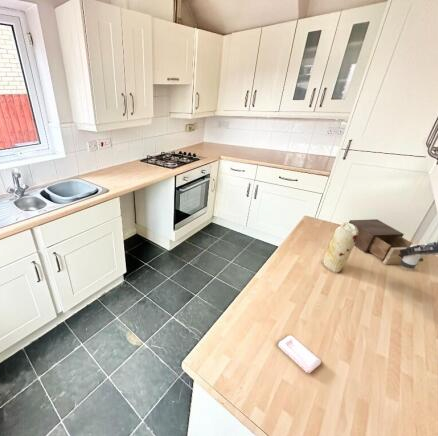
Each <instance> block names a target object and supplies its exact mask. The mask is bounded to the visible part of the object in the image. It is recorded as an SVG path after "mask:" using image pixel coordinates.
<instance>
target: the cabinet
mask: <svg viewBox="0 0 438 436" xmlns="http://www.w3.org/2000/svg"><path fill="white" fill-rule="evenodd" d="M348 223H350V224H353V225H355V226H356V227H357V229H358V232H359V233H358V236H357V239H356V242H355V244H354V246H355V247H356V248H357V249H359V250H360V251H362V252H363V253H364V254H367V253H369V254H372V253H371V252H370V251H368V248H369V246H370V244H371V242H372V241H373V239H374V236H401V237H402V238H404V235H405V233H403V232H401V231H400V230H398V229H395V228H394V227H392V226H390V225H388V224H387V223H385V222H383V221H381V220H380V219H375V218H373V219H371V218H370V219H350V220H349V221H348Z"/></svg>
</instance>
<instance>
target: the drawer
mask: <svg viewBox="0 0 438 436" xmlns="http://www.w3.org/2000/svg"><path fill="white" fill-rule="evenodd" d="M412 244H414V242H411V241H410V240H408V239H406V238H404V237H401V236H374V239H373V241H372V242H371V244H370V246H369V248H368V251H370V252H371V253H370V254H372V255H374V256H375V257H376V258H378V259H379V260H381V261H383V262H382V263H383V264H384V265H401V264H400V262H401V260H402V259H403V257H404V256H401V254H400V250H403V249H406V248H407V247H410V246H411V245H412ZM418 262H419V263H421V262H424V258H423V257H421V258H420V259H419V261H418ZM418 262H417V263H418Z"/></svg>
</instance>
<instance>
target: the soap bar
mask: <svg viewBox="0 0 438 436" xmlns="http://www.w3.org/2000/svg"><path fill="white" fill-rule="evenodd" d="M278 347H279V349H281V351H283V352H284V353H285V354H286V355H287V356H288V357H290V359H292V361H294V362H295V363H296V364H297V365H298V366H299V367H300V368H301V369H302V370H303V371H304V372H305V373H306V374H311V373H312V372H314V371H315V370H316V369H317V368H318V367H319V366H320V365H321V364H322V360H321V359H320V358H319V357H318V356H316V355H315V354H314V353H313V352H311V350H309V349H308V348H307V347H305V346H304V345H303V344H302V343H301V342H300V341H299V340H297V339H296V338H295V337H294V336H293V335H287V336H286V337H285V338H283V339H282V340H281V341H279V343H278Z"/></svg>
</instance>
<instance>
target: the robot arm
mask: <svg viewBox="0 0 438 436" xmlns="http://www.w3.org/2000/svg"><path fill="white" fill-rule="evenodd" d="M424 251H425V252H424ZM400 254H401V256H408V255H418V254H420V255H422V256H438V241H437V242H436V241H433V242H427V243H425V244H417V246H413V247H407V248H406V249H403V250H400Z"/></svg>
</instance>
